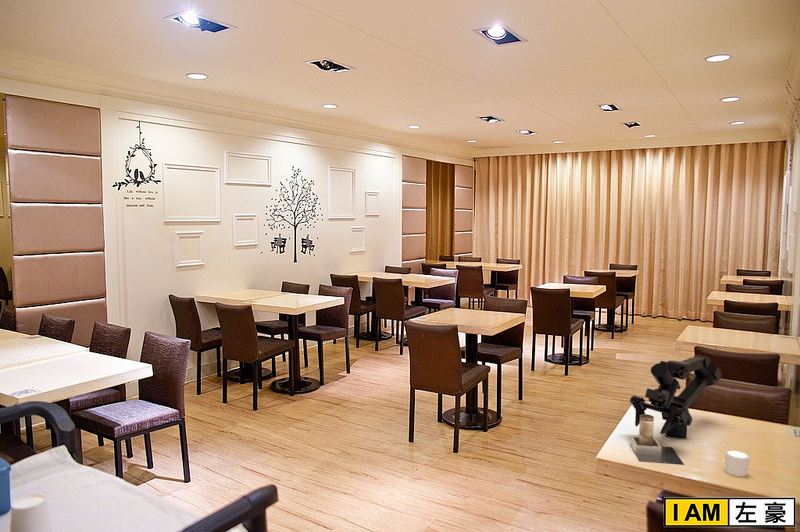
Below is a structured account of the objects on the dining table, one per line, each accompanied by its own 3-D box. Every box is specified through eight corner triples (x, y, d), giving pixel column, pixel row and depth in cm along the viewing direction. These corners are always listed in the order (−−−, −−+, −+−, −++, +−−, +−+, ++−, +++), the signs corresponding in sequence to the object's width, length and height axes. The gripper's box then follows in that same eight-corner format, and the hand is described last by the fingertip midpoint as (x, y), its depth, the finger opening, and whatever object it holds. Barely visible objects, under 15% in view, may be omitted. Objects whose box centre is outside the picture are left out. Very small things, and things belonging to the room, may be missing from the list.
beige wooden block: (653, 449, 194) (655, 415, 193) (650, 453, 190) (652, 419, 189) (640, 446, 196) (641, 413, 195) (637, 450, 193) (638, 417, 192)
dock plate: (672, 449, 196) (672, 438, 195) (684, 467, 182) (685, 456, 182) (629, 446, 198) (630, 436, 198) (638, 464, 185) (639, 452, 184)
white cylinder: (748, 482, 172) (750, 460, 171) (723, 476, 176) (724, 455, 175) (748, 473, 178) (750, 452, 177) (724, 468, 182) (725, 447, 181)
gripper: (633, 373, 202) (615, 410, 197) (685, 386, 188) (667, 426, 182) (644, 390, 208) (626, 426, 202) (695, 403, 193) (678, 442, 188)
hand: (648, 429), depth 194 cm, fingers open, 9 cm apart
